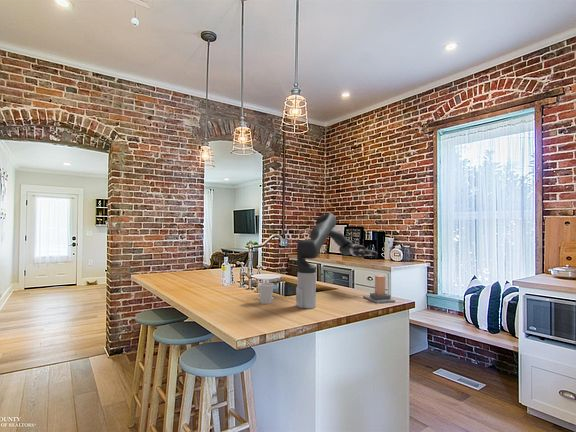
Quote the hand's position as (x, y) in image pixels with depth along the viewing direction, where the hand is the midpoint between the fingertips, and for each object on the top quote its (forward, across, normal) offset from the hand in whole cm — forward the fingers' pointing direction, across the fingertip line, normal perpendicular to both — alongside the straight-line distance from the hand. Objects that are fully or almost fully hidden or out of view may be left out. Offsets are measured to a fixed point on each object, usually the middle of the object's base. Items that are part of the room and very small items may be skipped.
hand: (370, 254), depth 195 cm
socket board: (+11, +1, +23) cm, 26 cm away
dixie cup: (+4, -61, +28) cm, 67 cm away
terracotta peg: (+11, +2, +22) cm, 25 cm away
